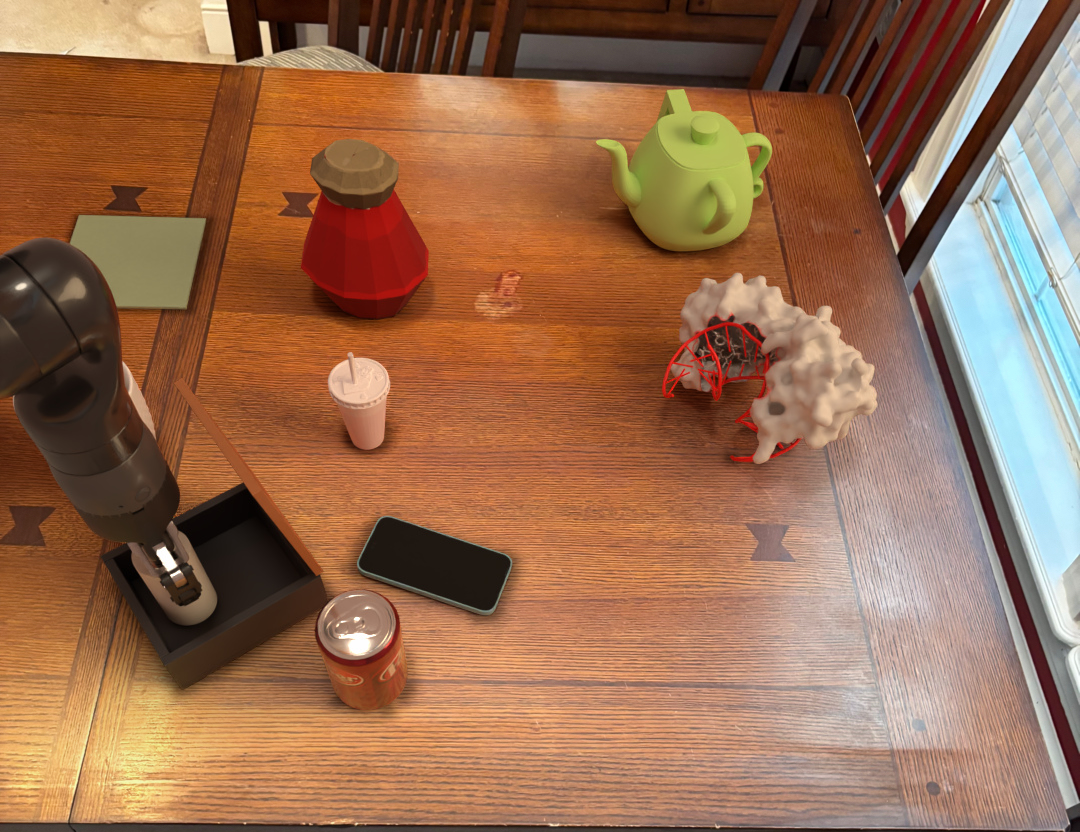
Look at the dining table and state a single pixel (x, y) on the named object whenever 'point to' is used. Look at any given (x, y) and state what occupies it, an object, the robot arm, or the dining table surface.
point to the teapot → (689, 177)
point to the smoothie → (361, 399)
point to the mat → (143, 257)
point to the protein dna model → (772, 363)
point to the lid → (247, 476)
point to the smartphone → (435, 565)
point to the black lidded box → (225, 586)
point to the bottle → (362, 233)
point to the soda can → (362, 648)
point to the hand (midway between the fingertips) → (175, 576)
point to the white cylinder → (174, 612)
